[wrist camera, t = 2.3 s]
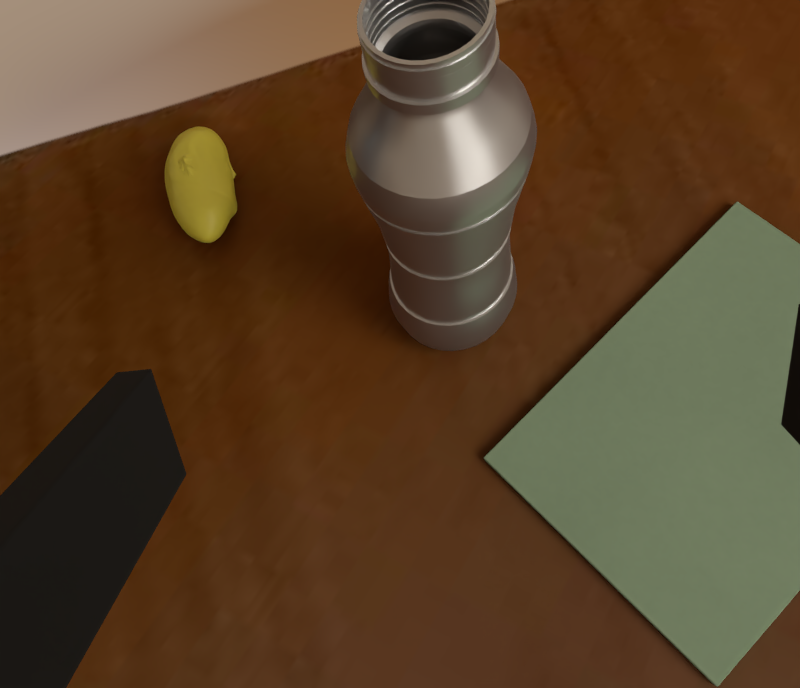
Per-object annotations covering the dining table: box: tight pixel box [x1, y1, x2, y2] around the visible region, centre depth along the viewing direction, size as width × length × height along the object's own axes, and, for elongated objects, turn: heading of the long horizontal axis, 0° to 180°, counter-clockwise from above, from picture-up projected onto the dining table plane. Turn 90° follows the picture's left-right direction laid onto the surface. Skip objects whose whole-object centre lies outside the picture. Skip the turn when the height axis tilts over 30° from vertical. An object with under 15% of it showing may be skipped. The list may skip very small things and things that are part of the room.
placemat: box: [484, 202, 800, 687], centre depth 31 cm, size 14×20×1 cm
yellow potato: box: [165, 126, 237, 243], centre depth 38 cm, size 4×8×4 cm, turn 7°
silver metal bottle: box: [346, 0, 537, 351], centre depth 26 cm, size 6×7×20 cm
